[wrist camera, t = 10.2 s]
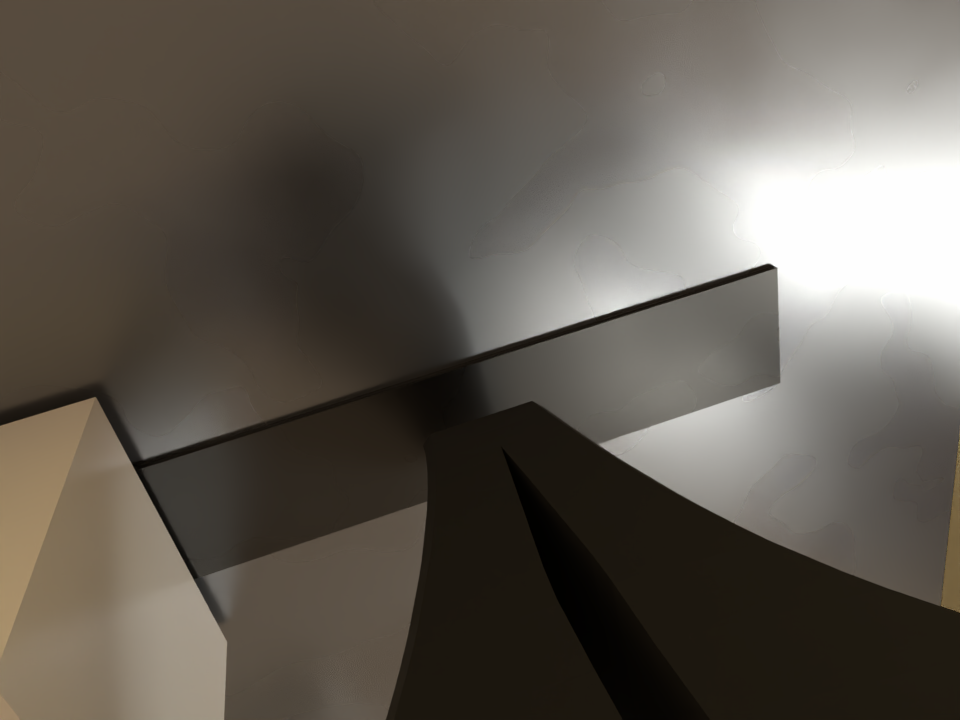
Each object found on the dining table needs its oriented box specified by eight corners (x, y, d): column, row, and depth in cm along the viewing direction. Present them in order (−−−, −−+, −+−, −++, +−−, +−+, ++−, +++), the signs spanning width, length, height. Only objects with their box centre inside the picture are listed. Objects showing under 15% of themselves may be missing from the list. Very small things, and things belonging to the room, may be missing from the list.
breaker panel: (933, -283, 9) (1049, -325, 8) (874, 722, 19) (925, 783, 17) (-797, 116, 7) (-1047, 153, 6) (106, 1027, 17) (93, 1125, 15)
